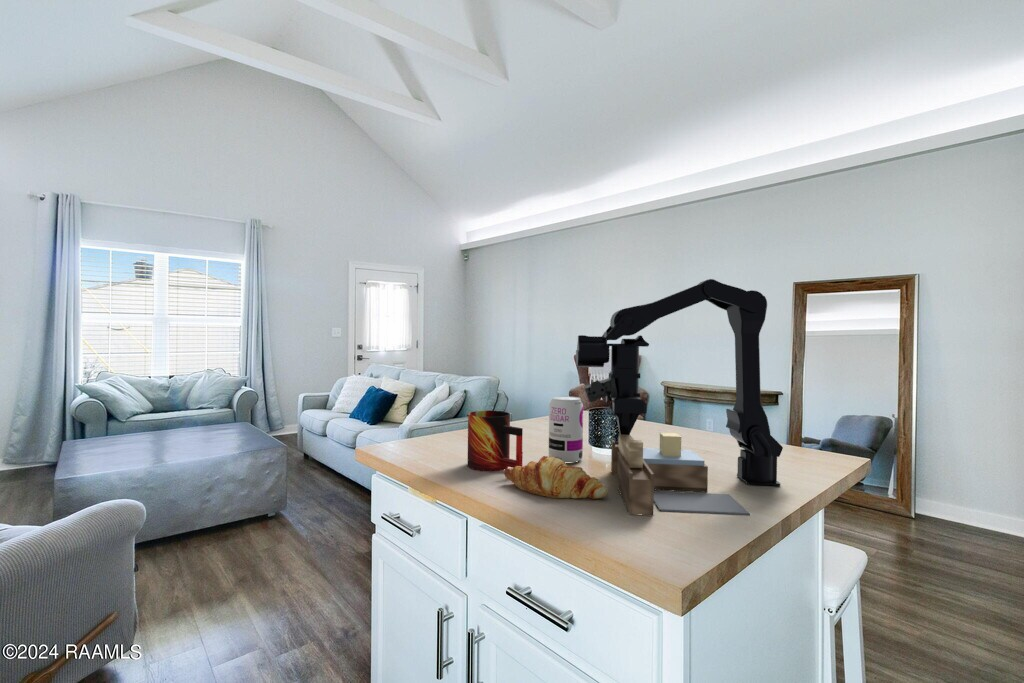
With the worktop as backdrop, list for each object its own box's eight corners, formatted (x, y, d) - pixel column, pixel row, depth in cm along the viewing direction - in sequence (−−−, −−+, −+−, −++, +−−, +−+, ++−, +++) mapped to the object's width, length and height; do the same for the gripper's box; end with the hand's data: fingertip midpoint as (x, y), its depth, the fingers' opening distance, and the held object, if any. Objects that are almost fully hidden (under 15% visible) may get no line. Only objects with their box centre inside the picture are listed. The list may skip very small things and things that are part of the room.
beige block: (630, 448, 101) (630, 427, 101) (642, 468, 86) (643, 442, 86) (618, 448, 101) (618, 426, 101) (629, 467, 86) (629, 442, 86)
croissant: (610, 514, 90) (616, 472, 94) (598, 504, 82) (606, 458, 85) (509, 494, 99) (518, 456, 103) (489, 483, 91) (500, 442, 95)
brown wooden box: (689, 474, 105) (690, 442, 105) (733, 519, 79) (734, 477, 79) (611, 471, 107) (611, 439, 107) (628, 514, 81) (629, 473, 81)
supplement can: (581, 456, 120) (582, 396, 120) (583, 465, 112) (584, 400, 112) (548, 455, 121) (549, 395, 121) (548, 463, 113) (549, 399, 113)
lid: (691, 454, 103) (691, 431, 103) (704, 465, 94) (704, 440, 94) (620, 452, 104) (620, 429, 104) (626, 462, 95) (626, 437, 95)
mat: (728, 495, 91) (728, 494, 91) (749, 514, 81) (750, 513, 81) (648, 492, 93) (648, 490, 93) (659, 510, 83) (659, 509, 83)
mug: (521, 475, 103) (522, 419, 103) (461, 469, 107) (461, 415, 107) (531, 463, 113) (532, 412, 112) (475, 459, 116) (476, 409, 116)
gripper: (584, 364, 112) (583, 431, 112) (589, 370, 94) (588, 449, 94) (633, 365, 111) (632, 432, 111) (647, 371, 93) (646, 451, 93)
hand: (623, 440), depth 102 cm, fingers closed
